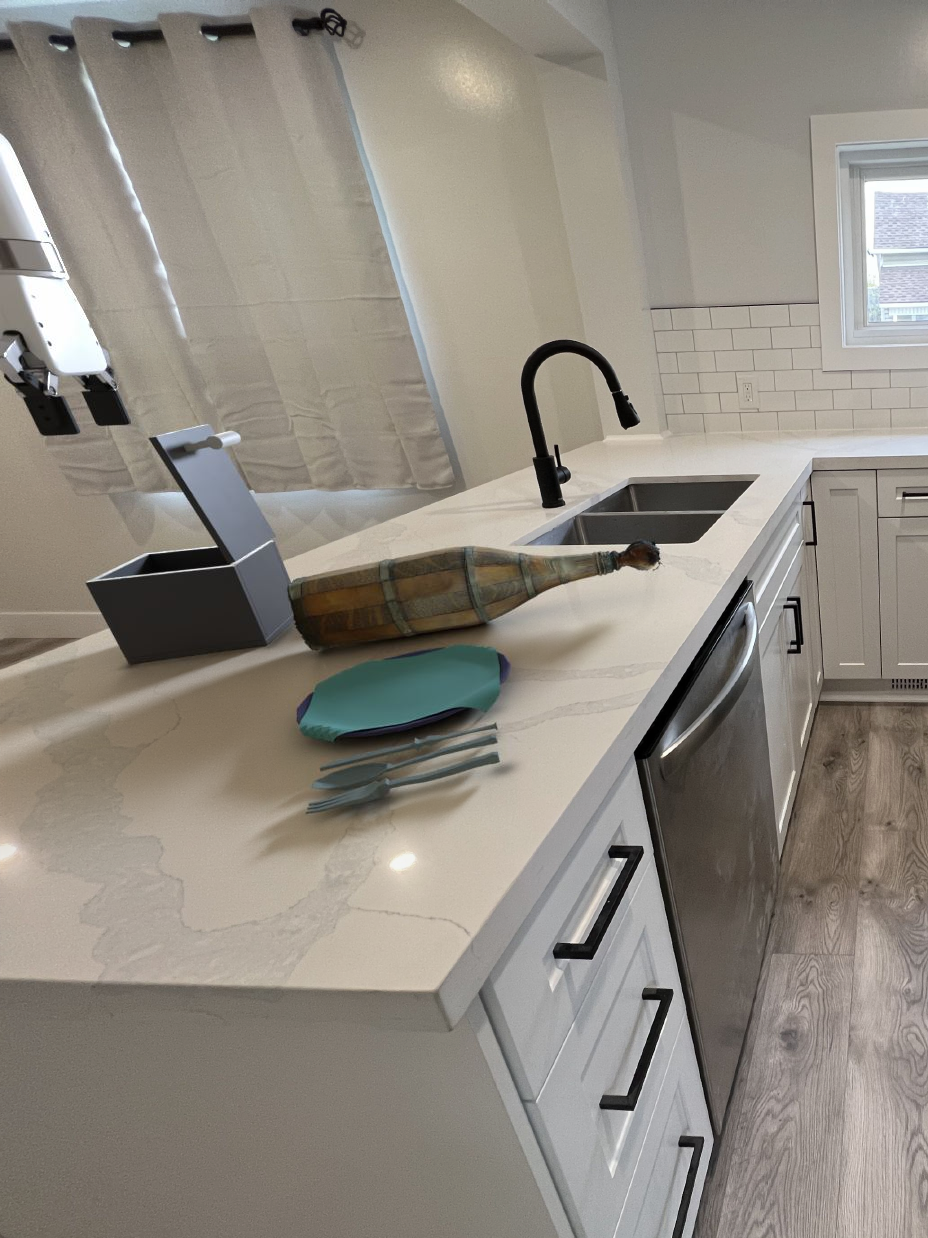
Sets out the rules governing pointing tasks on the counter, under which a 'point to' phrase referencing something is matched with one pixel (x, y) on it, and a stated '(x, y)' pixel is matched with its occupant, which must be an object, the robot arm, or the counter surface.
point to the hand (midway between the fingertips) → (89, 429)
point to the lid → (215, 488)
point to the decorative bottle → (438, 590)
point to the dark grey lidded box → (194, 602)
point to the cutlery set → (401, 714)
